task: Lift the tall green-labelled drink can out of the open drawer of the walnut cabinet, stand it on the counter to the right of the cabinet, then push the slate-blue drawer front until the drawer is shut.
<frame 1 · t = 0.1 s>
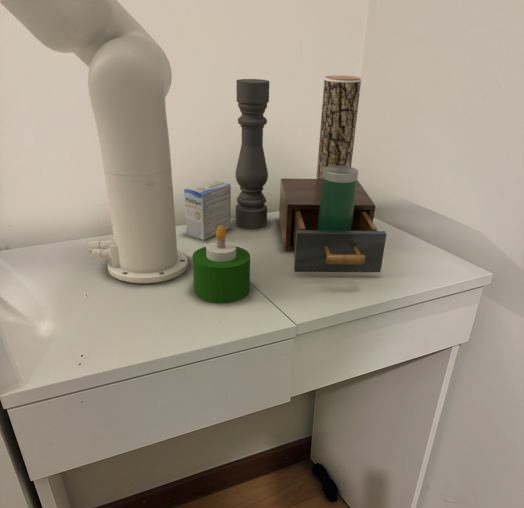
candle: (222, 291, 77), on the table
candle holder: (251, 224, 101), on the table
drawer: (334, 241, 83), point 4 cm above the table, slide at 9.5 cm, touching can
can: (332, 250, 86), point 2 cm above the table, touching drawer
medicine box: (209, 233, 97), on the table
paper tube: (329, 210, 110), on the table
cabinet: (320, 235, 97), on the table
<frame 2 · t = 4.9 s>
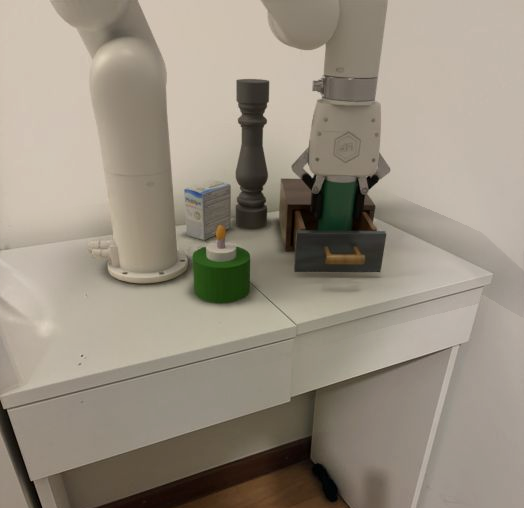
hand: (335, 215, 82), 8 cm above the table, tool pointing down, fingers closed on can, 5 cm apart
can: (332, 250, 86), point 2 cm above the table, touching drawer, gripper
everything else where it was.
when the fingers open (6 cm above the table, at t = 11.2 s): can stays where it is, on the table.
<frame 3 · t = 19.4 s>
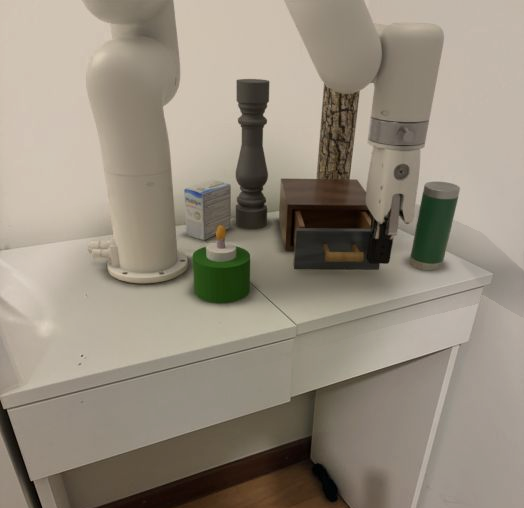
hand: (377, 261, 78), 4 cm above the table, tool pointing down, fingers closed
drawer: (333, 239, 84), point 4 cm above the table, slide at 8.6 cm, touching gripper
can: (425, 264, 87), on the table
everything else where it was.
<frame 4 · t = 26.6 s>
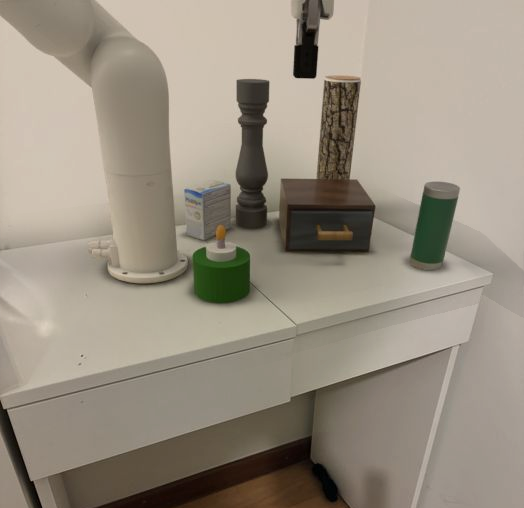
hand: (304, 77, 74), 27 cm above the table, tool pointing down, fingers closed
drawer: (326, 221, 91), point 4 cm above the table, slide at 0.0 cm, touching cabinet
everything else where it was.
at the end: can 0.0 cm from the target spot, on the table; can tilted 0°; drawer slide at 0.0 cm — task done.
